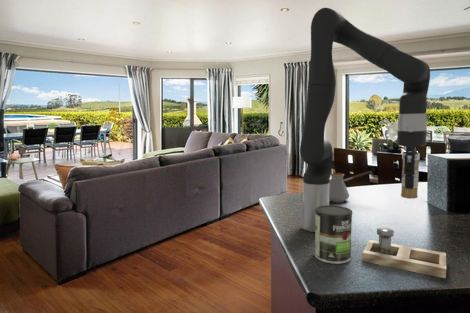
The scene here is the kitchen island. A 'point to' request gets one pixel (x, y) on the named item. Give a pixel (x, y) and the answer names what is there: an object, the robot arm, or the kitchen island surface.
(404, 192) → the sprinkles bottle
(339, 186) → the coffee pot
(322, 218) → the coffee can
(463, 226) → the kitchen island surface
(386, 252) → the grey metal bolt
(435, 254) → the bolt-hole plate
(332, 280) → the kitchen island surface
